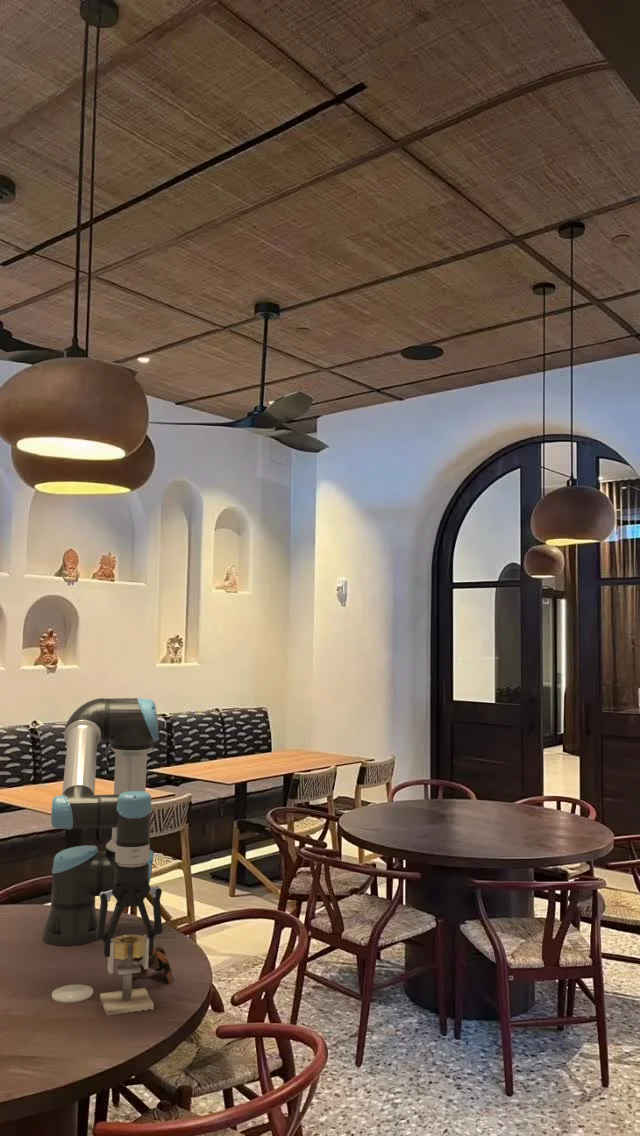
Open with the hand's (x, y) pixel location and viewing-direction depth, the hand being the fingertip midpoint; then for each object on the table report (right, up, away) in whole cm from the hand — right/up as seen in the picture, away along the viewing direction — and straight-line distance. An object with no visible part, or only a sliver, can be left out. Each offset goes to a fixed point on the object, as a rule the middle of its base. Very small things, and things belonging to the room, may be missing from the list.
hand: (127, 968), depth 190 cm
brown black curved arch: (+3, -9, +14) cm, 17 cm away
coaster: (-13, -7, +3) cm, 15 cm away
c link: (0, +3, 0) cm, 3 cm away
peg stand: (0, -7, -1) cm, 7 cm away
